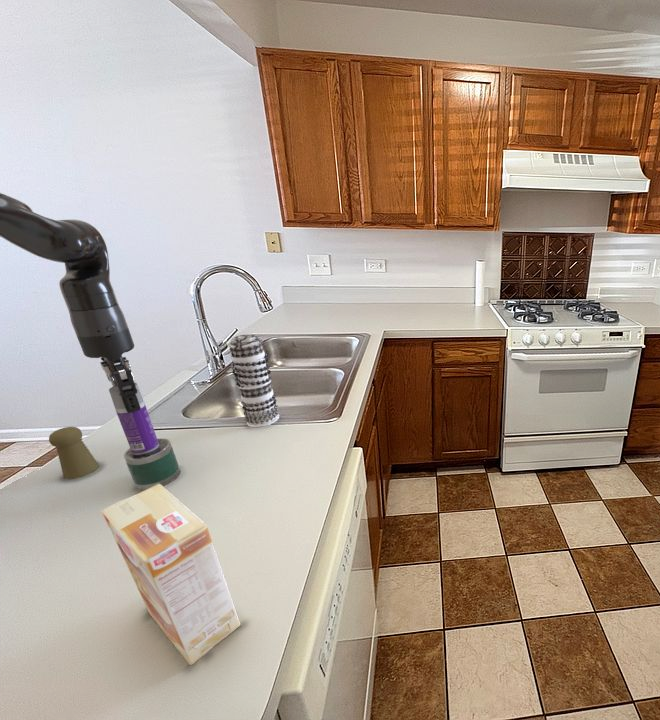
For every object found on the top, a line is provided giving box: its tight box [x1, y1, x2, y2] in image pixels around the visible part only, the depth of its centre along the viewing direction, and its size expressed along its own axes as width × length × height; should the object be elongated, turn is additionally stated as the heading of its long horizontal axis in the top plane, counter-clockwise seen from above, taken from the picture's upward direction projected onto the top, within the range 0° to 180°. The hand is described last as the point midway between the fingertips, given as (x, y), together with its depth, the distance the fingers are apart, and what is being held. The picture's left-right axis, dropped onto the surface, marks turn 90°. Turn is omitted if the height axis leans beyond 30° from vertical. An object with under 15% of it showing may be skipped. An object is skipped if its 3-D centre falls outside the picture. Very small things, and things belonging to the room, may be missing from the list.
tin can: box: [123, 437, 181, 491], centre depth 88 cm, size 8×8×8 cm
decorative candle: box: [226, 333, 280, 428], centre depth 109 cm, size 9×9×25 cm
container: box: [108, 382, 159, 455], centre depth 84 cm, size 5×5×15 cm
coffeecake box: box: [100, 484, 242, 666], centre depth 56 cm, size 15×7×20 cm, turn 56°
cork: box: [48, 426, 100, 480], centre depth 90 cm, size 6×6×11 cm
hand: (131, 406), depth 83 cm, fingers closed on container, 4 cm apart
